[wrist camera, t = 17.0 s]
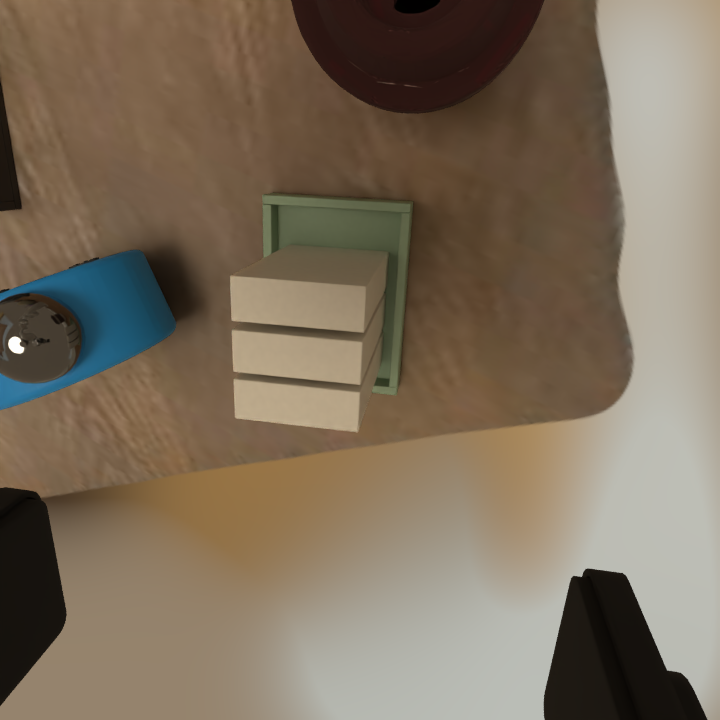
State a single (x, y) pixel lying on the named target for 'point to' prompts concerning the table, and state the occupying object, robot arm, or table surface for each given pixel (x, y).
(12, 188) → the grey tray
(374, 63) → the coffee cup
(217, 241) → the table surface
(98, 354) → the alarm clock
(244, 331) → the white books
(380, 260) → the white box
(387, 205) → the green tray
